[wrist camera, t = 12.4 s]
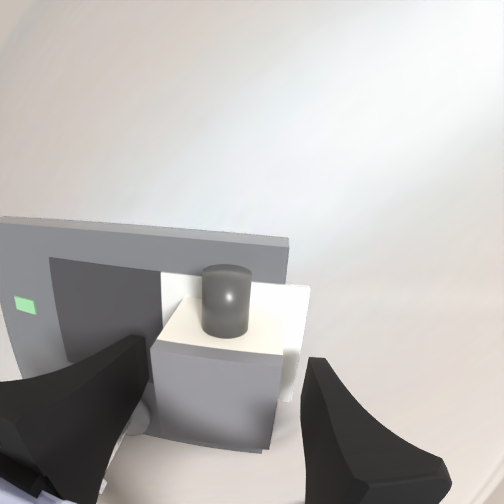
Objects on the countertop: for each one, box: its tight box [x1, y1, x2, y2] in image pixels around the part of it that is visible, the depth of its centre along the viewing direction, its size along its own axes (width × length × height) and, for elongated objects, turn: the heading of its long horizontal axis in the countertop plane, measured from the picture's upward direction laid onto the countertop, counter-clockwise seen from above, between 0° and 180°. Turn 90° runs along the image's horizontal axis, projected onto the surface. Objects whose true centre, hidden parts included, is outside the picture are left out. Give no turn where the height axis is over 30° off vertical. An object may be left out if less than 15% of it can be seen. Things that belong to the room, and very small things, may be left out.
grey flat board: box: [0, 216, 311, 454], centre depth 15 cm, size 12×17×2 cm
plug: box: [150, 264, 283, 450], centre depth 11 cm, size 6×4×4 cm, turn 176°
